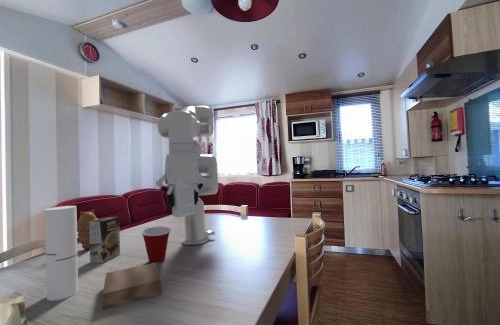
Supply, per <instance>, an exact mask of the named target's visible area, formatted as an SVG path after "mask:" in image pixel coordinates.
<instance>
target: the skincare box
mask: <svg viewBox="0 0 500 325" xmlns="http://www.w3.org/2000/svg"><path fill="white" fill-rule="evenodd" d="M172 194H173V207H171V212H172V213H171V214H172V217H175V218H182V217H183V218H184V216H188V215H193V214H195V202H194V187H193V184H185V183H184V182H183V180H182V179H179V178H178V179H175V186H174V188H173V190H172Z"/></svg>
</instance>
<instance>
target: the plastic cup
mask: <svg viewBox="0 0 500 325" xmlns="http://www.w3.org/2000/svg"><path fill="white" fill-rule="evenodd" d="M171 231H172V228H170V227H169V226H162V225H161V226H151V227H147V228H144V229H143V230H141V235H142V237H143V240H144V245H145V250H146V255H147V259H148V262H149V264H151V263H156V264H158V263H161V262H164V261H165V260H166V255H167V250H168V248H167V247H168V241H169V237H170V233H171Z"/></svg>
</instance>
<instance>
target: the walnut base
mask: <svg viewBox="0 0 500 325" xmlns="http://www.w3.org/2000/svg"><path fill="white" fill-rule="evenodd" d="M158 269H159V268H158V267H157V263H147V264H142V265H137V266H132V267H128V268H124V269H120V270H119V269H118V270H115V271H110V272H106V275H105V278H104V279H105V280H104V284H103V290H102V310H108V309H111V308H114V307H115V308H116V307H118V306H122V305H125V304H130V303H133V302H136V301H140V300H144V299H147V298H151V297H154V296H158V295H162V294H163V293H162V278H161V277H162V276H161V274H160V271H159V270H158Z"/></svg>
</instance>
